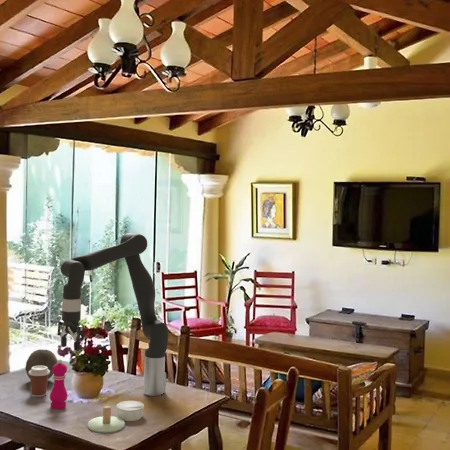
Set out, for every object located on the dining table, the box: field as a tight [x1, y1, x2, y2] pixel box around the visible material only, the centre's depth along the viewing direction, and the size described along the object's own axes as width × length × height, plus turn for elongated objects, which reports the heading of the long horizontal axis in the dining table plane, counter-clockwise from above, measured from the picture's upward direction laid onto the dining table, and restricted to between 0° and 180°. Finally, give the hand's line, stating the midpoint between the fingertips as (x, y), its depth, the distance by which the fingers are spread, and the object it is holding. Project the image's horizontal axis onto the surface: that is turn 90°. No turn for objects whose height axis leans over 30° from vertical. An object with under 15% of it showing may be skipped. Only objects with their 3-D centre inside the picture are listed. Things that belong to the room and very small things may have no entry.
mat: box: [82, 421, 131, 436], centre depth 234 cm, size 14×14×1 cm
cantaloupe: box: [25, 349, 58, 380], centre depth 286 cm, size 14×14×15 cm
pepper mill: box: [49, 359, 68, 410], centre depth 253 cm, size 7×7×20 cm
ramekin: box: [115, 400, 145, 422], centre depth 245 cm, size 11×11×5 cm
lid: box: [87, 405, 126, 434], centre depth 234 cm, size 14×14×7 cm
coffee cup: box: [29, 366, 50, 398], centre depth 268 cm, size 9×9×12 cm
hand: (70, 348), depth 247 cm, fingers open, 8 cm apart
